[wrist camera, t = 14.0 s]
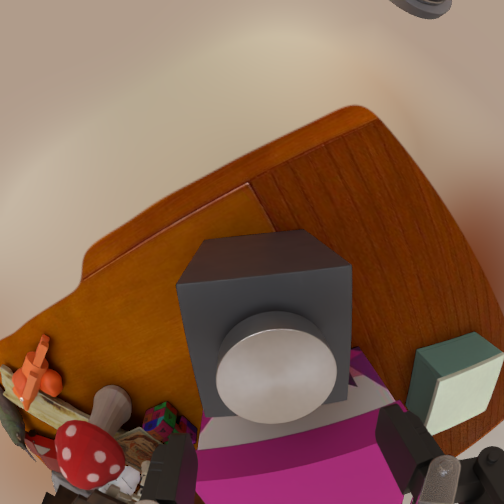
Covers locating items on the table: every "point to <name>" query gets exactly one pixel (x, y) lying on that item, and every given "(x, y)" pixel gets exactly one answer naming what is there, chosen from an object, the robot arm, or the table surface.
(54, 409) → the plank
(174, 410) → the rubik's cube
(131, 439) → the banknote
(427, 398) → the lunchbox
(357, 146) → the table surface
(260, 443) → the decorative box
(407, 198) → the table surface
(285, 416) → the dish
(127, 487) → the pincushion
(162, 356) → the table surface
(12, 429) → the sculpture
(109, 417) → the decorative mushroom
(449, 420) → the lunchbox lid
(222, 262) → the block
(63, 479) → the decorative rock
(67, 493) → the skeleton figurine
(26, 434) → the red toy car
